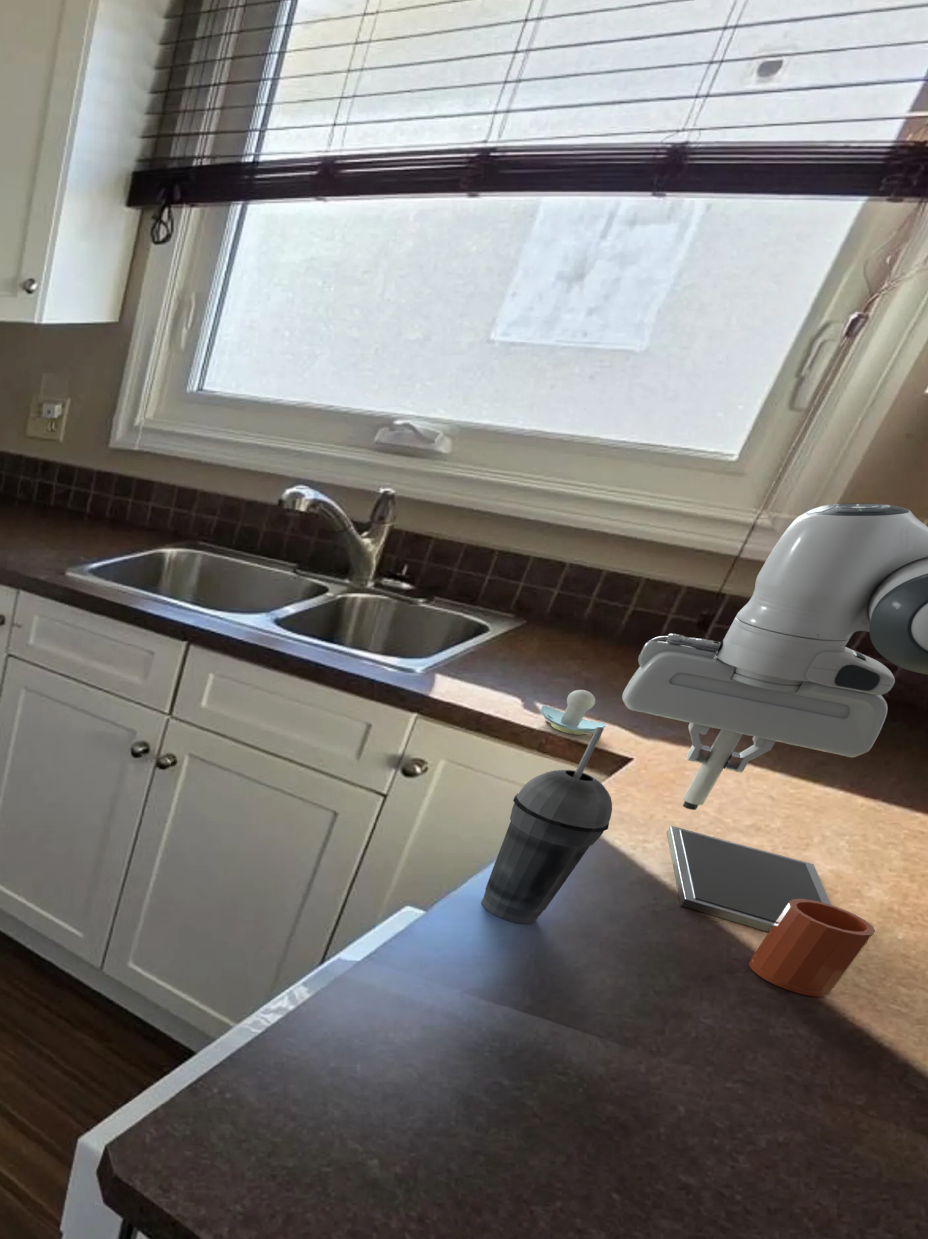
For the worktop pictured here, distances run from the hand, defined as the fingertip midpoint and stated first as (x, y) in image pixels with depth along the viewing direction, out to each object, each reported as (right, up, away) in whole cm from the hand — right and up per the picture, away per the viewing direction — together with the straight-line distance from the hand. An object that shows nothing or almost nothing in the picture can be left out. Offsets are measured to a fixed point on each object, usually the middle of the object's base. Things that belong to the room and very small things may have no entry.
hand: (713, 765), depth 117 cm
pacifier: (+8, +5, +28) cm, 29 cm away
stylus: (0, -5, +2) cm, 6 cm away
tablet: (-6, -13, -9) cm, 17 cm away
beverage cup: (-36, -15, -15) cm, 42 cm away
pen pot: (-17, -20, -23) cm, 34 cm away
